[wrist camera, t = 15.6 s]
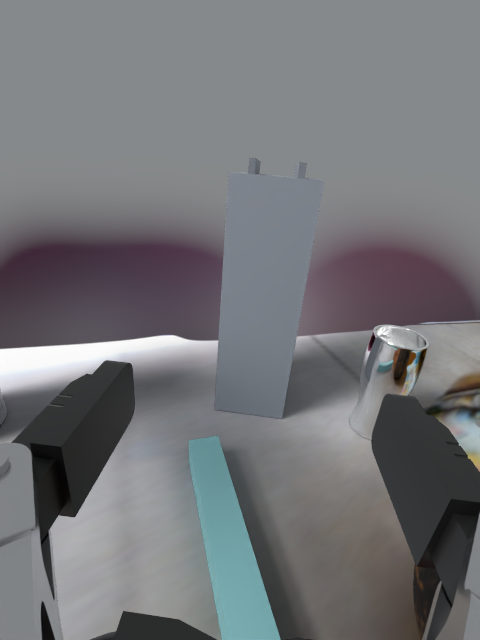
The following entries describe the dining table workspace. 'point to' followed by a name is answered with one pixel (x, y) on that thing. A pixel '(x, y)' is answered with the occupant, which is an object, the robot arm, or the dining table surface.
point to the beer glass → (387, 372)
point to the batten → (229, 548)
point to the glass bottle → (424, 594)
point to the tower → (263, 286)
